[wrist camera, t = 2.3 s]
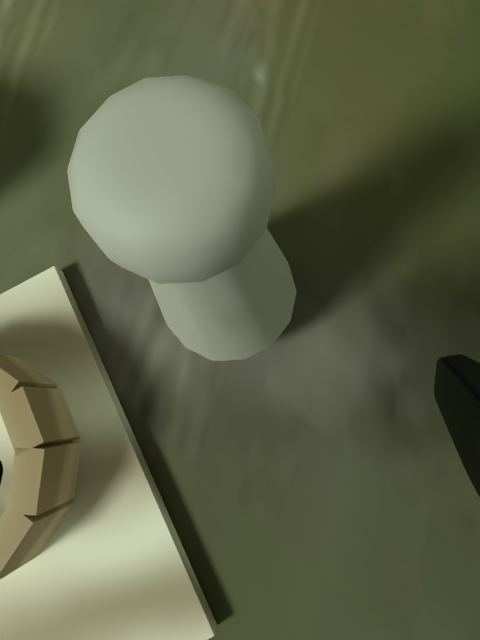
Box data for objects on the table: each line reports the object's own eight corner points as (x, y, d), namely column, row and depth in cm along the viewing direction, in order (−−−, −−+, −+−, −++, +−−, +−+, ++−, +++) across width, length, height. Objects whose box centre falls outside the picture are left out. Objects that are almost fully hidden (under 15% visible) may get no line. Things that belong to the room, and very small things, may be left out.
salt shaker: (243, 391, 20) (173, 368, 7) (152, 318, 21) (-51, 185, 8) (318, 294, 20) (379, 109, 8) (225, 228, 21) (143, -29, 9)
